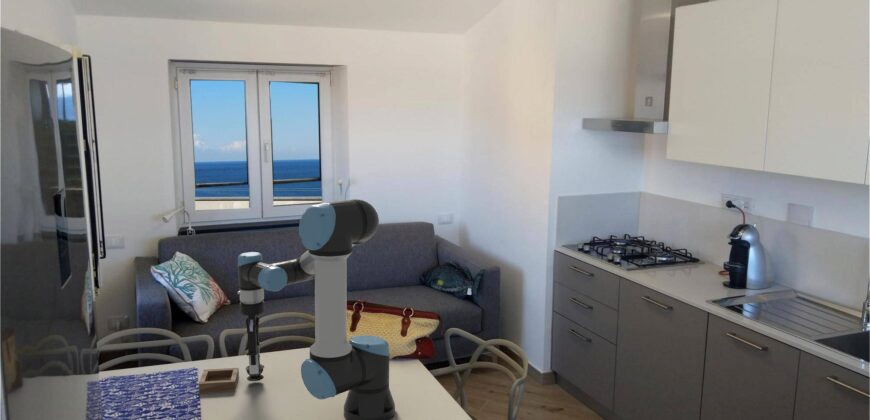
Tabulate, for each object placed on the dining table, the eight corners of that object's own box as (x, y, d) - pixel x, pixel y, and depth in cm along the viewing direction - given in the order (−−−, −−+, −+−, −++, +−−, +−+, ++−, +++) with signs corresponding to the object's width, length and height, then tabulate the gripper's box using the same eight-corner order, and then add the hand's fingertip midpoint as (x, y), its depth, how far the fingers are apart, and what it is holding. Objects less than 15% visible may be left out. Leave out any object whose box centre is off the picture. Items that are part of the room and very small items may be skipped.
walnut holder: (235, 391, 209) (235, 381, 208) (199, 393, 207) (198, 383, 206) (238, 376, 220) (238, 367, 219) (204, 379, 218) (203, 369, 217)
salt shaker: (259, 382, 211) (258, 346, 209) (242, 380, 212) (241, 345, 211) (267, 375, 217) (266, 340, 215) (251, 373, 218) (249, 338, 216)
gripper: (242, 293, 219) (245, 359, 223) (236, 310, 201) (240, 382, 204) (265, 292, 220) (268, 358, 224) (262, 308, 202) (265, 380, 206)
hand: (254, 369), depth 214 cm, fingers closed on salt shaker, 6 cm apart
